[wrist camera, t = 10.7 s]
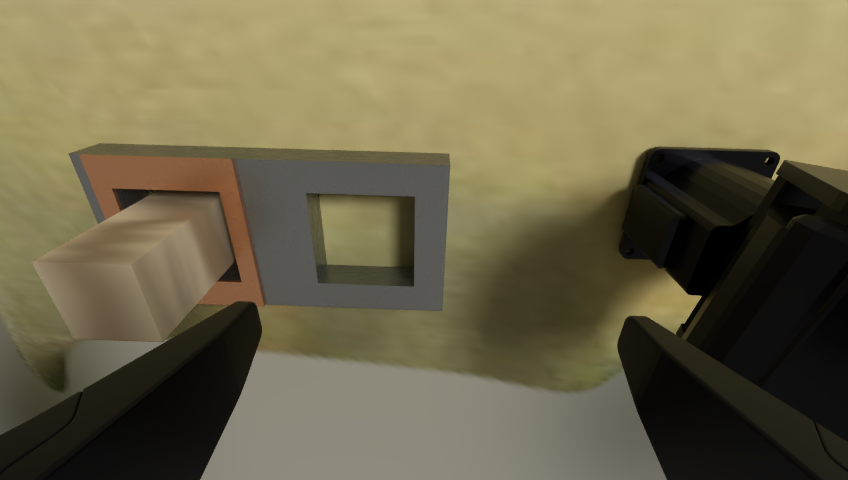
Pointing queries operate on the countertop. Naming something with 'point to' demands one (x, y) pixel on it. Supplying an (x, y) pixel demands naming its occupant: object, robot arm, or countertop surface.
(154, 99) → the countertop surface
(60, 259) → the beech peg
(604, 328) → the countertop surface
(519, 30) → the countertop surface
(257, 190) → the grey board
